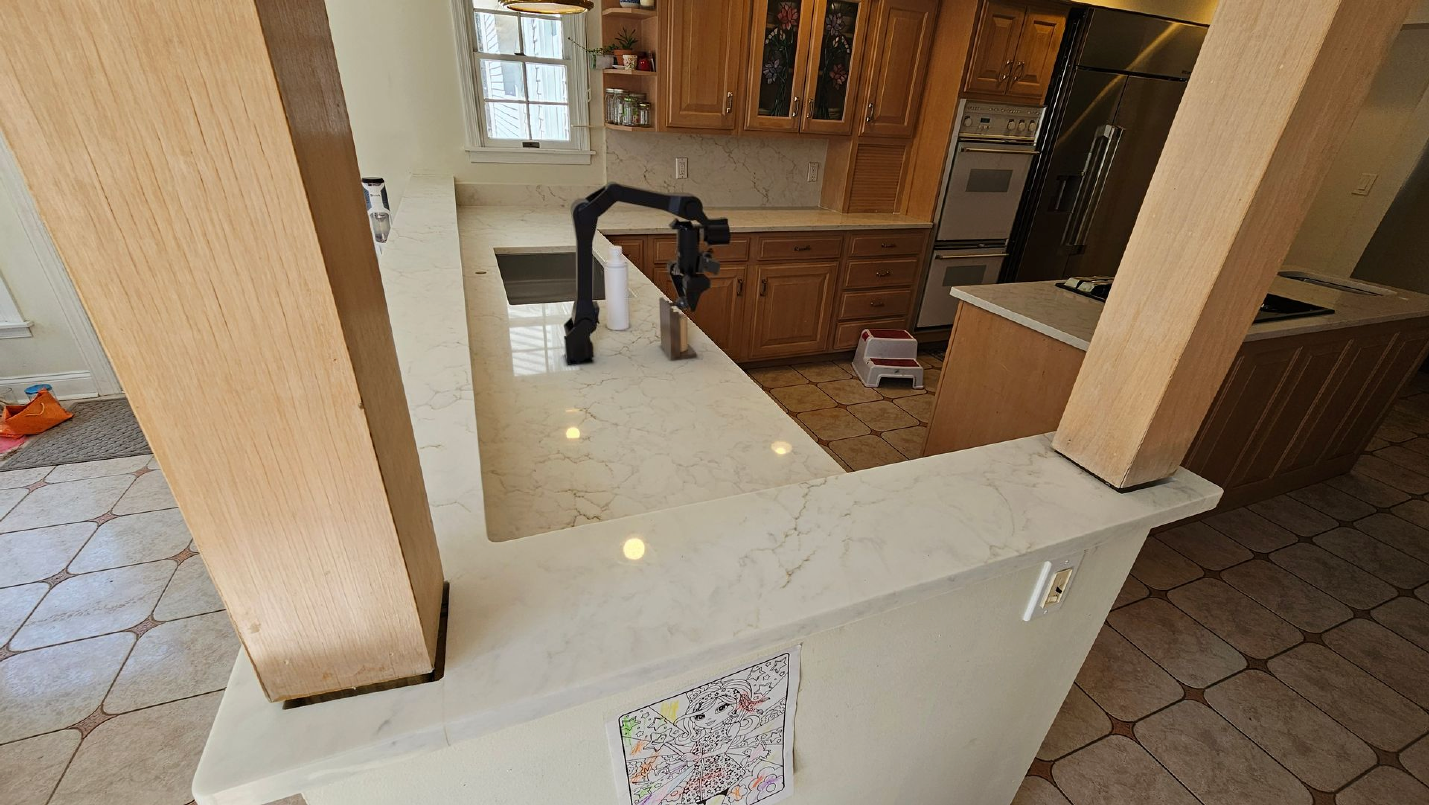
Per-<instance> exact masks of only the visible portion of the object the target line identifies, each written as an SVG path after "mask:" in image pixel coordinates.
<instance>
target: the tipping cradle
mask: <svg viewBox="0 0 1429 805" xmlns="http://www.w3.org/2000/svg"><path fill="white" fill-rule="evenodd" d="M658 305H659V324H660V325H659V328H660V330H659V331H660V332H659V333H660V347H661V348H662V350H663V351H664V353H665V354H666V355H667V357H668V358H669V359H670V361H677V360H685V359H692V358H697V353H696V352H695V350H694V349H693V348H692V347H691V346H690V345H689V344H688V349H687V350H686V351H682V352H680V330H679V314H680V311H685V310H687V309H689V306H688V303H687V299H686V296H685V297H684V296H681V297H677V299H676V300H675V301H674V302H673V301H672V302H670V301H669V300H666V299H665V298H664V297H659V298H658ZM673 307H676V308H677V309H678V311H674V308H673Z"/></svg>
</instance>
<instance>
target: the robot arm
mask: <svg viewBox="0 0 1429 805" xmlns="http://www.w3.org/2000/svg"><path fill="white" fill-rule="evenodd" d="M617 202H619V203H625V204H631V205H635V206H639V207H644V208H650V209H656V210H661V211H665V212H667V213H670V214H671V215H674V216H676V217H674V218H673V220H672V221H670V223H668V227H669V228H670V229H671V230H676V248H674V254H675V255H676V259H670V260H668V262H666V271H667V272H668V276H669V278H670V281H671V283H672V285H673V287H674V289H675V292H676V294H677V298H679V297H681V296H684V297H686V299H687V303H688V306H689V307H688V309H689V311H690V313H695V312H696V310H697V308H698V304H699V300H700V297H701V295H702V293H704V292H705V291H708V290H709V289H710V288H711V285H712V284H711V283H712V281H711V279H710V278H709V277H708V276H707V275H706V274H704V271H705V272H708V273H710V274H712V275H715V276H718V275H719V272H720V270H721V266H722V263H721V262H720V261H718V260H717V259H715V258H713V254H712V253H710V252H708V251H704V252H703V251H701V249H700V247H701V246H700V243H701V242H702V243H704V245H705V246H706V247H713V246H714V247H716V246H718V247H719V246H729V244H730V243H731V236H732V233H731V230H730V225H729V218H728V217H724V216H722V217H716V218H715V217H714V218H713V217H712V218H711V217H708V216H707V215H706V213H705V212H704V205H703V203H702V201H701V199H700V198H699V197H697V196H696V195H694V194H693V193H690V192H683V191H682V192H681V191H680V192H678V191H677V192H676V191H675V192H661V191H656V190H652V189H646V188H641V187H637V186H632V185H628V184H622V183H618V182H617V181H608V182H607V183H605V185H604V186H602V187H601V188H598V189H597V190H595V191H593V192H592V193H590V194H589V195H587V196H586V197H579V198H577V199H575V200H573V202H572V203H571V204H570V208H569V209H570V210H569V211H570V215H571V216H570V217H571V222H572V226H573V232H574V236H575V297H574V301H573V304H572V309H571V316H570V318H568V319H567V321H566V322H564V323H563V329H564V333H565V335H564V336H563V344H564V354H563V356H564V360H565V363H566V365H568V366H574V365H583V364H584V365H585V364H593V363H594V360H593V358H594V343H593V341H592V339H591V334H593V333H595V331H596V330H597V328H598V325H600V319H599V315H600V306H599V303H598V301H597V300H593V242H594V238H595V236H596V231H597V226H598V221H599V217H601V216H602V215H604V214H605V213H606V212H607V211H608V210H609V209H611V207H612V206H614V204H616V203H617ZM678 218H681V219H684V220H679V219H678ZM693 221H696V222H697V223H693Z"/></svg>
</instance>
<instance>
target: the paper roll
mask: <svg viewBox="0 0 1429 805" xmlns="http://www.w3.org/2000/svg"><path fill="white" fill-rule="evenodd" d="M679 330H680V352H682V351H686V350H687V349H688V345H689V334H688V333H689V332H688V315H686V314H684V313H679Z"/></svg>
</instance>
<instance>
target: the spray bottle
mask: <svg viewBox="0 0 1429 805" xmlns="http://www.w3.org/2000/svg"><path fill="white" fill-rule="evenodd" d="M608 254H609V259H607V260H606V261H605V262H603V271H604V295H605V296H604V297H605V318H606V328H607V329H609V330H611V331H612V330H613V331H623V330H627V329H628V328H630V300H629V299H630V295H629V294H630V292H629V291H630V290H629V263H628V262H627V261H626V260H625V259H622V255H623V248H622V246H621V245H609V246H608Z"/></svg>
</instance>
